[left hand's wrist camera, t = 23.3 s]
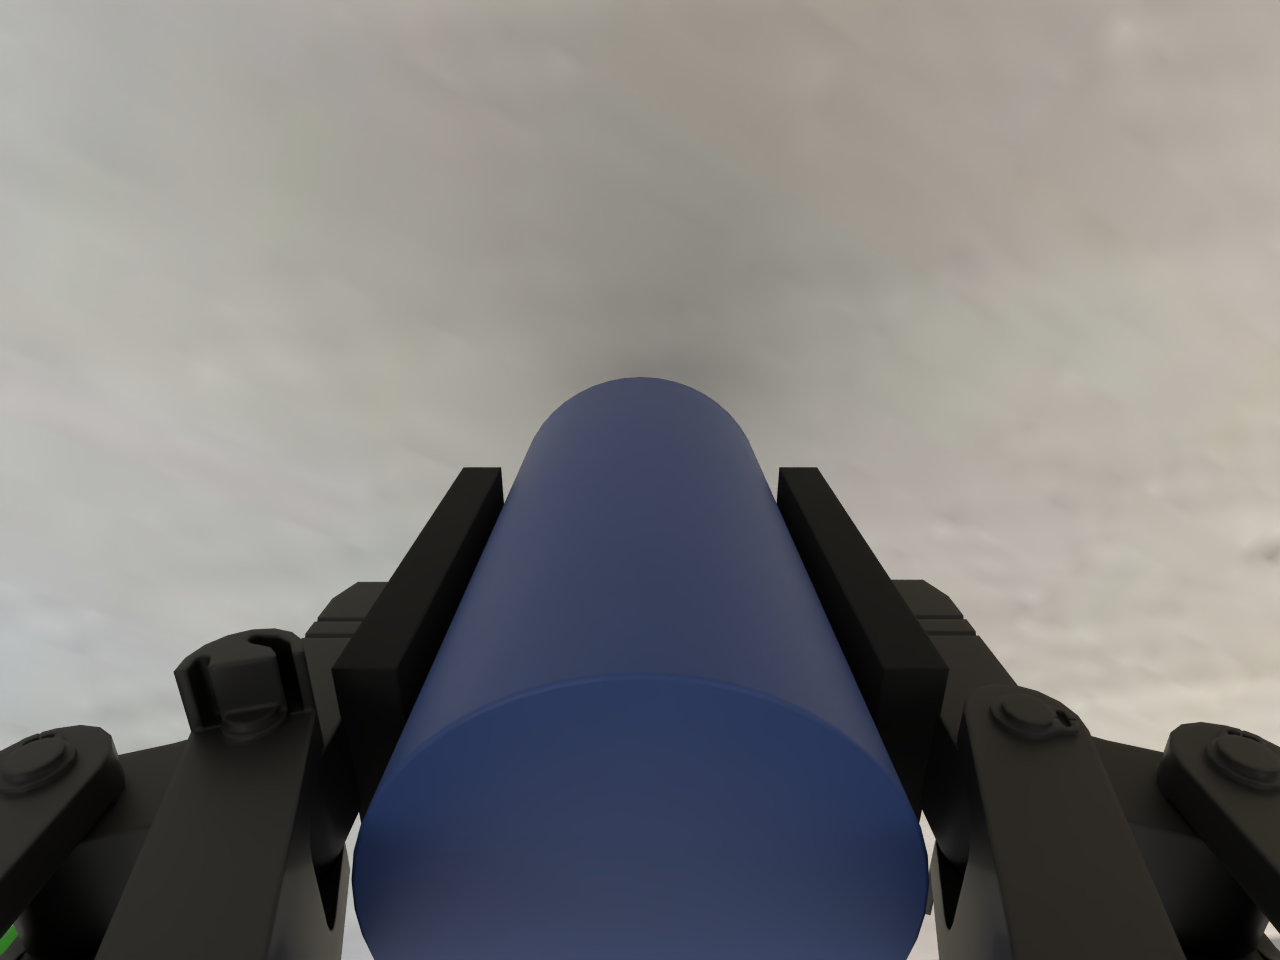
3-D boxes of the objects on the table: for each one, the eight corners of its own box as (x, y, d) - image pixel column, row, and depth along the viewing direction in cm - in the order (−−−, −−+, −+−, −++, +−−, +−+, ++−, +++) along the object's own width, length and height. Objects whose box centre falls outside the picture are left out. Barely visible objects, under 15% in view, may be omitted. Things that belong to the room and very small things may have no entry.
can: (751, 361, 15) (940, 642, 6) (766, 583, 17) (923, 1067, 8) (500, 392, 16) (271, 710, 6) (543, 607, 18) (426, 1105, 8)
